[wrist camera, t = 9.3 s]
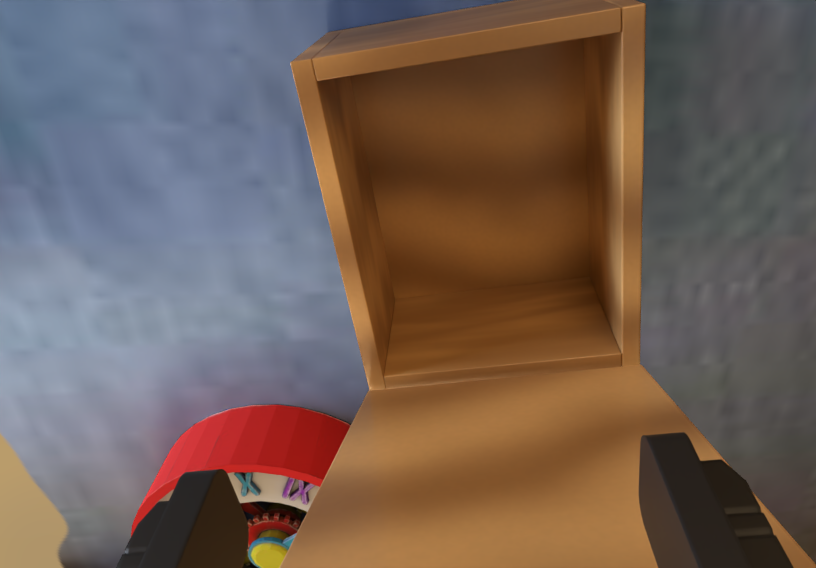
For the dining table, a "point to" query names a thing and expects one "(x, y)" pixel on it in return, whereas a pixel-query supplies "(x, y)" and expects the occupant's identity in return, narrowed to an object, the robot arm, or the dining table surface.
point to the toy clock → (258, 469)
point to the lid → (498, 476)
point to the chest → (485, 186)
